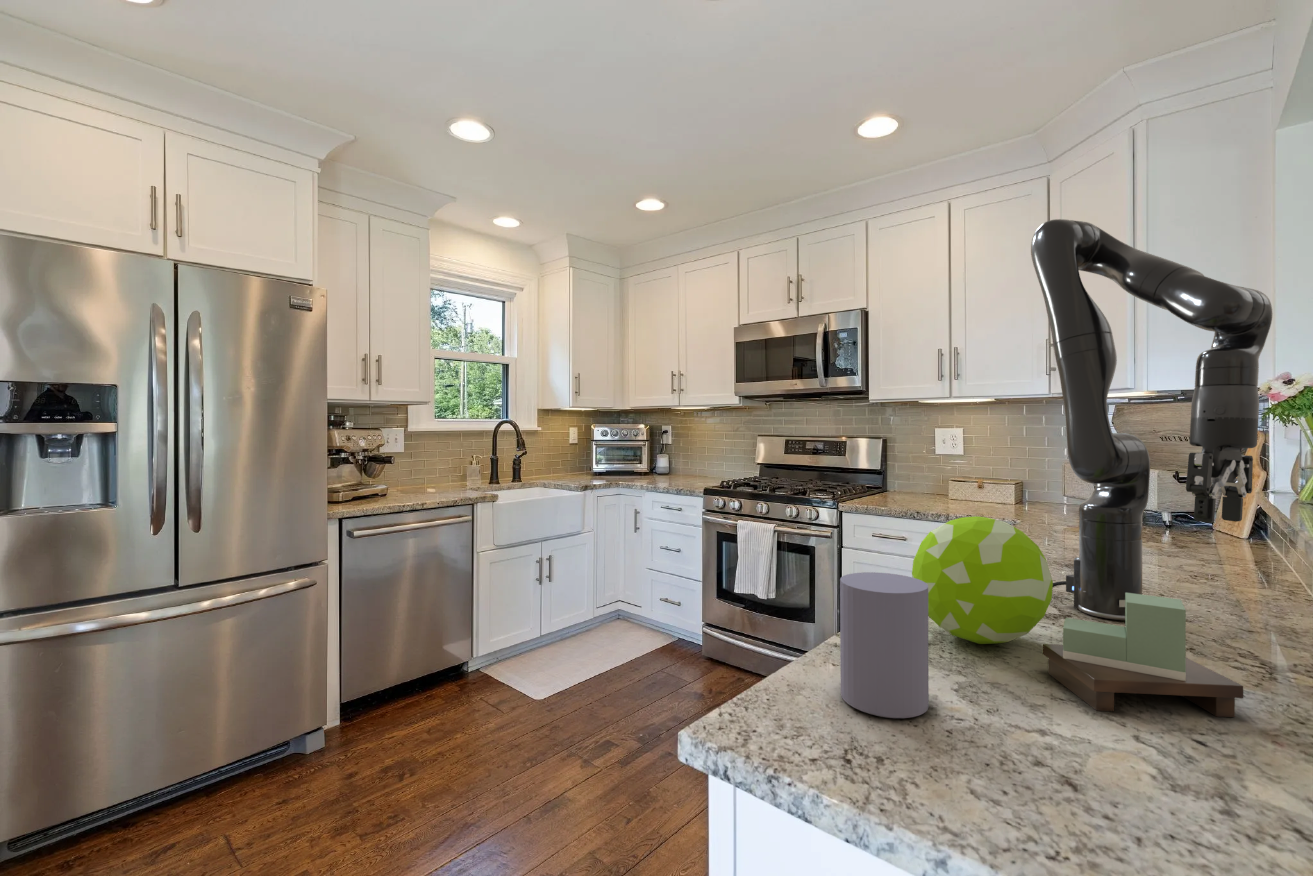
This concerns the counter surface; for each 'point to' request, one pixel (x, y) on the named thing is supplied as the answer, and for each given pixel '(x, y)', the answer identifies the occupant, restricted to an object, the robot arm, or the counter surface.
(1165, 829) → the counter surface
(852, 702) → the container
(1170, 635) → the sage green stepped block
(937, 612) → the melon
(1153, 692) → the shoe shelf
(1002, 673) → the counter surface
